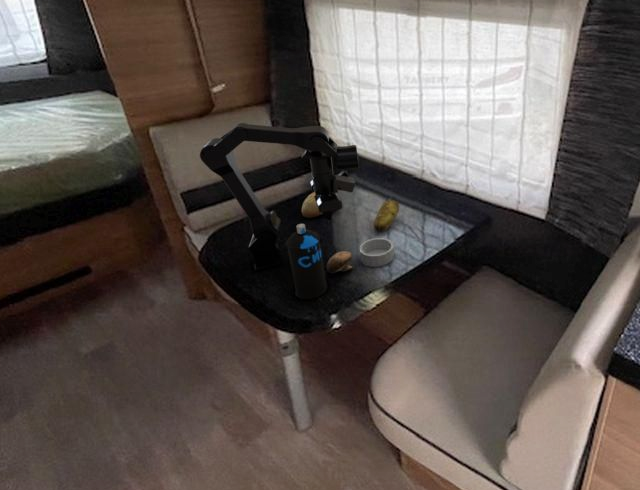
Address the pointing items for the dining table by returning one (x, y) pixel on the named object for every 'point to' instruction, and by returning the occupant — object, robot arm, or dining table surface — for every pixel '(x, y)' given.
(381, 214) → the potato
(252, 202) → the robot arm
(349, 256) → the mushroom
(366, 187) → the dining table surface
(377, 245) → the white ramekin
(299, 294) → the aerosol can
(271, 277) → the dining table surface
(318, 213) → the bread roll
